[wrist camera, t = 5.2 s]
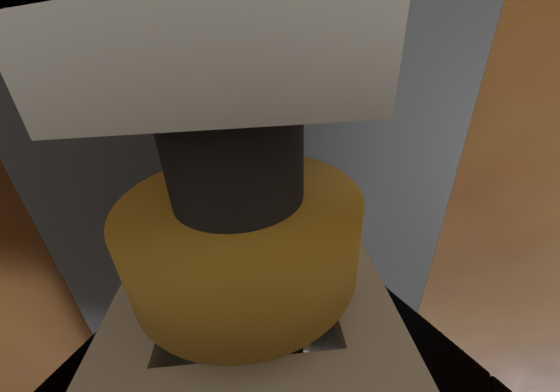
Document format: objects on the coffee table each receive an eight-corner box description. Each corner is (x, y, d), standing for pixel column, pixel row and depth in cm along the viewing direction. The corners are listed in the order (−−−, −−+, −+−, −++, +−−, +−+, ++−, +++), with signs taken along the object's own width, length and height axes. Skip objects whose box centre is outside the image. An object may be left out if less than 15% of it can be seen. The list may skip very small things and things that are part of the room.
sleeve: (334, 320, 9) (396, 535, 5) (186, 334, 9) (136, 570, 5) (343, 207, 7) (453, 417, 3) (153, 221, 7) (27, 467, 3)
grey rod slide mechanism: (373, 419, 15) (427, 589, 10) (169, 443, 14) (131, 633, 10) (477, -30, 6) (1129, -200, 2) (-41, -13, 6) (-1342, -201, 1)
